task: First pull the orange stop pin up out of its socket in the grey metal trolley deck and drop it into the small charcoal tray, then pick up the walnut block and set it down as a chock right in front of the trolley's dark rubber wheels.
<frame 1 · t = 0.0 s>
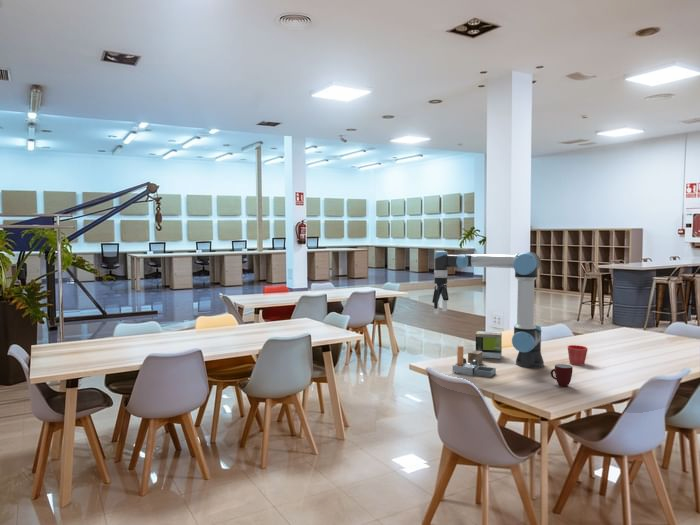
hand: (440, 312, 310), 28 cm above the table, fingers open, 13 cm apart
stop pin: (460, 372, 281), resting in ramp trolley
mug: (560, 385, 256), on the table
retro computer monitor: (488, 356, 318), on the table
pin tray: (484, 374, 277), on the table
flower pot: (577, 363, 300), on the table
chock block: (475, 363, 300), on the table
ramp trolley: (464, 372, 280), on the table
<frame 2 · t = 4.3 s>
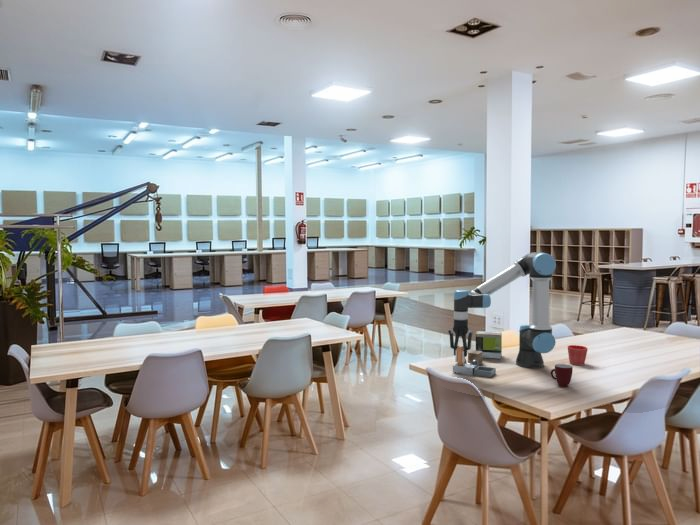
hand: (460, 361, 281), 6 cm above the table, fingers closed on stop pin, 3 cm apart
stop pin: (460, 371, 282), resting in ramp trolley, touching gripper
everything else where it was.
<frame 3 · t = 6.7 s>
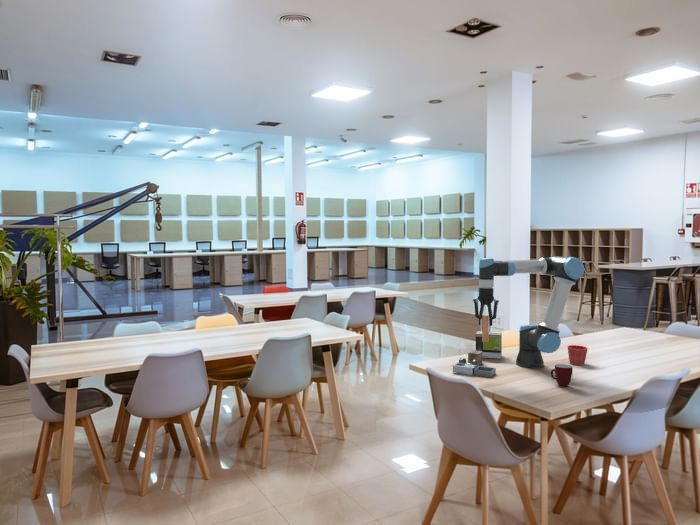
hand: (485, 331, 275), 23 cm above the table, fingers closed on stop pin, 3 cm apart
stop pin: (485, 341, 276), point 18 cm above the table, touching gripper
everything else where it was.
when the fingers open (8 cm above the table, at t = 9.1 s): stop pin drops 2 cm, resting on pin tray.
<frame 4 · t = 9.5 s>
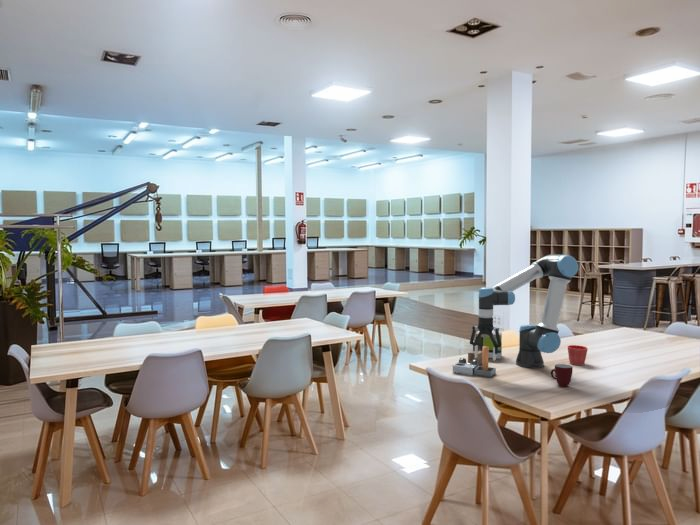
hand: (485, 358, 276), 9 cm above the table, fingers open, 9 cm apart
stop pin: (484, 373, 277), point 1 cm above the table, touching pin tray
everything else where it was.
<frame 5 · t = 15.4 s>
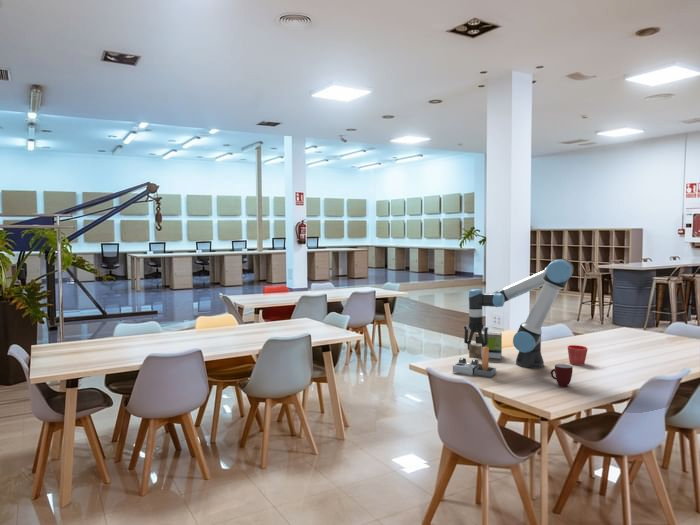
hand: (476, 356, 299), 5 cm above the table, fingers closed on chock block, 6 cm apart
chock block: (476, 356, 299), point 4 cm above the table, touching gripper
everything else where it was.
when the fingers open (0 cm above the table, at t = 18.9 s): chock block stays where it is, on the table.
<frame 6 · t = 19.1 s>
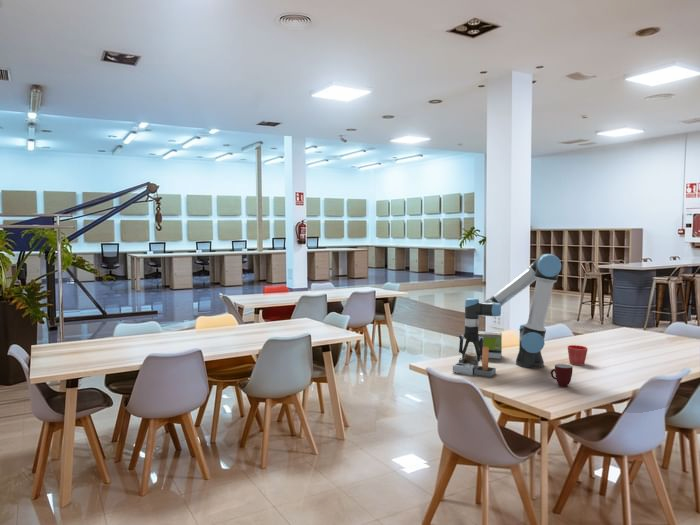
hand: (470, 366, 293), 0 cm above the table, fingers open, 6 cm apart
chock block: (470, 366, 293), on the table, touching gripper
everything else where it was.
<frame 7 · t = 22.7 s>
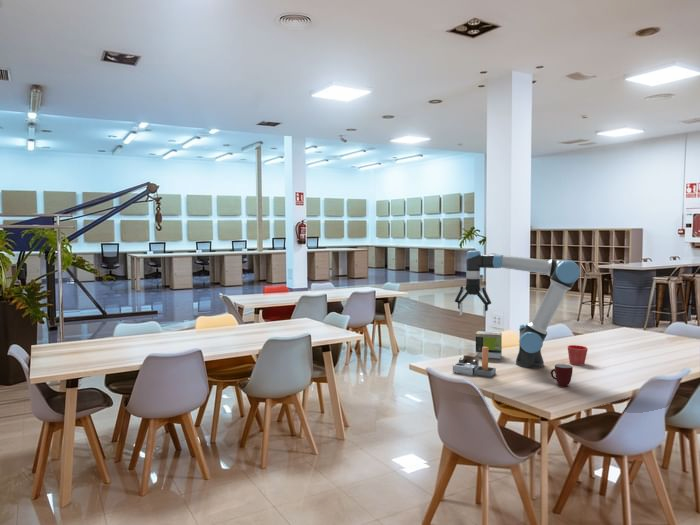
hand: (472, 315, 293), 29 cm above the table, fingers open, 13 cm apart
chock block: (470, 366, 293), on the table
everything else where it was.
at the end: chock block inside the target area (0.1 cm from its centre), on the table; chock block tilted 0°; stop pin inside the target area on the pin tray (0.0 cm from its centre), point 0.6 cm above the pin tray's base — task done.
